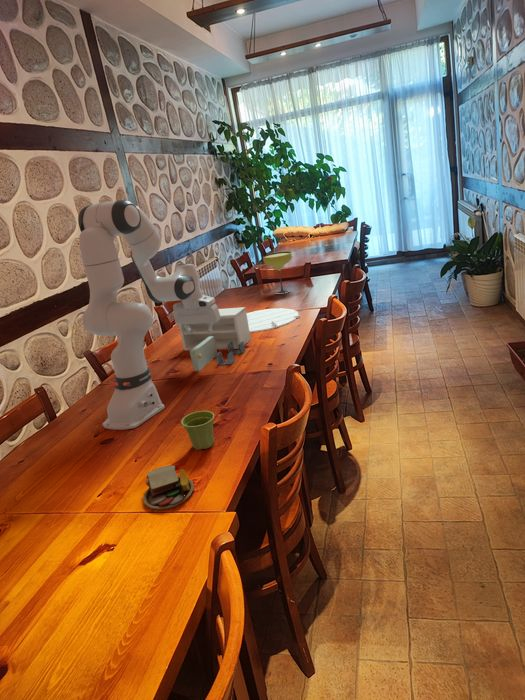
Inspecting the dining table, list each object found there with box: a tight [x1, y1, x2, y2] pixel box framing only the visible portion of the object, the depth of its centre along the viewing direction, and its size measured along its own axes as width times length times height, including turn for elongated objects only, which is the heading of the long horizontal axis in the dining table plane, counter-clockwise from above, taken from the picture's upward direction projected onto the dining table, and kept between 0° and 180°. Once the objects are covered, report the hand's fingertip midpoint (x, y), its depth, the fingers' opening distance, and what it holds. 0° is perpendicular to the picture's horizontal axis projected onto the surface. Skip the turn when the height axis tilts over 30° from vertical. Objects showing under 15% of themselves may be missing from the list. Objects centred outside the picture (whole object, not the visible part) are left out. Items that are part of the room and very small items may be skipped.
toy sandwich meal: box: [142, 464, 195, 511], centre depth 116 cm, size 12×14×5 cm
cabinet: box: [178, 306, 252, 351], centre depth 221 cm, size 12×30×16 cm, turn 69°
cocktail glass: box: [262, 251, 293, 293], centre depth 302 cm, size 18×18×25 cm
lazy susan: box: [246, 307, 301, 333], centre depth 251 cm, size 40×39×3 cm
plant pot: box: [180, 410, 215, 451], centre depth 135 cm, size 9×9×9 cm
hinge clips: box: [215, 342, 246, 366], centre depth 202 cm, size 16×6×4 cm, turn 159°
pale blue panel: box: [189, 336, 218, 372], centre depth 201 cm, size 18×4×9 cm, turn 159°
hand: (200, 332), depth 198 cm, fingers open, 8 cm apart
